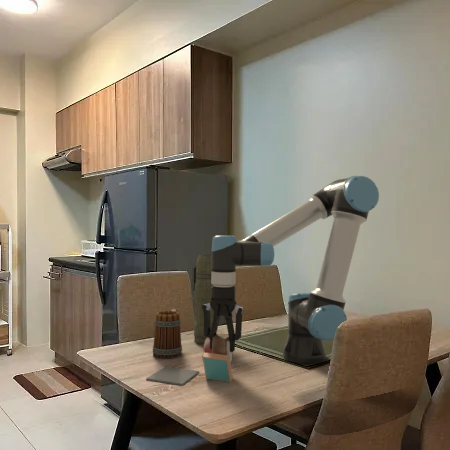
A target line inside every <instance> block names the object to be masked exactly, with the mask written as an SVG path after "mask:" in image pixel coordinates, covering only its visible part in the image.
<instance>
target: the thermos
mask: <svg viewBox="0 0 450 450" xmlns="http://www.w3.org/2000/svg"><path fill="white" fill-rule="evenodd" d="M211 274H212V253H211V254H210V253H201V254H199V255H198V257H197V260H196V265H194V266H193V267H192V283H191V284H192V286H191V287H192V291H194V299H195V321H194V325H193V336H194V343H195V344H197V345H204V343H205V340H206V339H207V338H208V337H205V336H204V312H203V309H202V305H204V304H208V303H210V301H211V287H212V286H213V284H211ZM213 315H214V311H213V309H212V307H211V309H210V323H211V327H212V322H213Z"/></svg>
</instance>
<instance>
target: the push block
mask: <svg viewBox="0 0 450 450" xmlns="http://www.w3.org/2000/svg"><path fill="white" fill-rule="evenodd" d="M217 334H218V335H216V336H215V337H213V352H212V353H213V354H221V355H227V341H228V340H229V336H228V333H221V332H220V333H217Z"/></svg>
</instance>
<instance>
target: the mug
mask: <svg viewBox="0 0 450 450" xmlns="http://www.w3.org/2000/svg"><path fill="white" fill-rule="evenodd" d="M153 335H154V337H153V345H152V355H153V356H154V357H156V358H157V359H173V358H178V357H179V356H181V355H182V353H183V346H182V335H181V318H180V313H179V311H178V309H175V308H172V309H171V310H162V311H161V310H160V311H157V312H156V314H155V321H154V334H153Z"/></svg>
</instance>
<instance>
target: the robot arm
mask: <svg viewBox="0 0 450 450" xmlns="http://www.w3.org/2000/svg"><path fill="white" fill-rule="evenodd" d="M379 198H380V193H379V188H378V187H377V185H376V183H375V182H374V181H373V180H372V179H371V178H369V177H367V176H364V175H353V176H349V177H347V178H346V177H345V178H339V179H336V180H333V181H332V182H331V183H329V184H327V185H325V187H322V189H320V190H319V191H317V192H316V193H313V194H312V195H310V196H309V200H308V201H305V202H304V203H303V204H301V205H298V206H297V207H296V208H294V209H293V210H291V211H289V212H287V213H286V214H284V215H282V216H280V217H279V218H277V219H276V220H274V221H272V222H271V223H268V224H267V225H265V226H264V227H262V228H260V229H258V230H257V231H255V232H254V233H252V234H251V235H249V236H247V237H245V238H244V239H239V240H237V237H236V236H235V235H223V234H222V235H217V234H216V235H214V236H213V237H212V241H211V242H212V243H211V254H212V274H211V284H213V286H212V287H211V301H210V303H208V304H204V305H202V309H203V312H204V336H205V337H208V338H209V339H210V349H212V352H213V337H215V336H216V334H218V327H219V324H220V319H221V316H222V317H224V320H225V322H226V323H225V324H226V329H227V334H228V336H229V340H228V341H227V355H229V356H230V361H231V362H232V361H233V352H235V349H236V341H239V340H240V339H241V338H242V327H243V314H244V313H245V307H244V306H240V305H238V304H237V301H236V286H235V285H236V280H237V279H236V278H237V277H236V274H237V272H236V270H237V269H236V268H237V267H267V266H271V265H273V263H274V260H275V248H274V247H275V246H277V245H278V244H280V243H282V242H284V241H286V240H287V239H290V237H291V236H294V235H296V234H297V233H299V232H301V231H302V230H304V229H305V228H307V227H308V226H311V225H312V224H313V223H316V222H317V221H319V220H320V219H322V220H325V219H327V218H329V217H331V216H332V217H333V221H332V222H333V223H332V227H331V230H330V234H329V238H328V241H327V245H326V249H325V252H324V256H323V261H322V265H321V269H320V272H319V276H318V280H317V283H316V287H315V289H312V290H311V291H310V292H293V293H290V294H289V295H288V302H287V305H288V310H287V312H288V318H287V319H288V320H287V321H288V322H287V324H288V327H287V328H288V329H287V330H288V331H287V332H288V333H287V334H288V335H287V338H286V341H285V342H284V346H283V350H282V357H283V359H284V360H287V361H289V362H292V363H295V364H296V363H297V364H304V365H305V364H306V365H310V364H311V365H312V364H314V365H315V364H321V363H324V362H325V361H327V351H326V350H327V349H326V347H325V344H324V341H327V342H328V341H334V340H335V339H334V335H335V331H336V329H337V327H338V326H339V325H340V324H341V323H342V322H344V321H346V320H347V321H348V318H347V315H346V312H345V310H344V309H345V306H346V300H345V298H344V296H343V294H344V290H345V287H346V282H347V278H348V275H349V271H350V267H351V263H352V259H353V255H354V251H355V248H356V247H355V246H356V243H357V239H358V236H359V231H360V228H361V225H362V224H363V223H365V222H367V220H368V216H369V213H370V211H372V210H373V209H374V208H376V206H377V205H378V202H379V201H380V200H379ZM211 307H212V309H213V311H214V315H213V322H212V327H211V323H210V309H211ZM233 311H235V325H234V322H233Z"/></svg>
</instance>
